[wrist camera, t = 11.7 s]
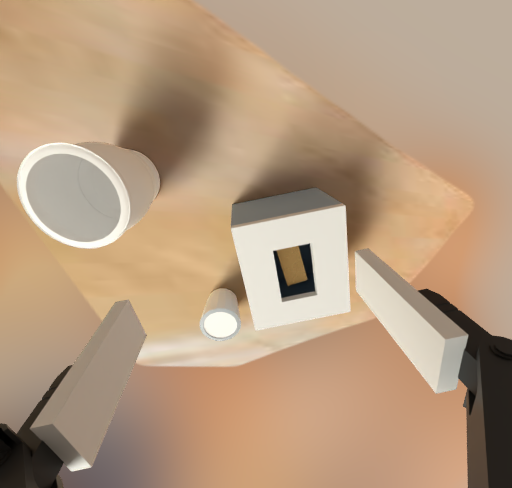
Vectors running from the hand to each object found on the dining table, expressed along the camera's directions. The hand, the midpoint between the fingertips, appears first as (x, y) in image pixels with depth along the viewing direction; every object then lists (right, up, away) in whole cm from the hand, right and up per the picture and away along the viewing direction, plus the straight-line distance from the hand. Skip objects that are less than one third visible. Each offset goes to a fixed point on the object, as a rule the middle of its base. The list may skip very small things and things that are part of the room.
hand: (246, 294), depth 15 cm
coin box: (+5, +4, +30) cm, 30 cm away
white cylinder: (-6, -8, +34) cm, 35 cm away
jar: (-18, +13, +24) cm, 33 cm away
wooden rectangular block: (+5, +3, +29) cm, 30 cm away
